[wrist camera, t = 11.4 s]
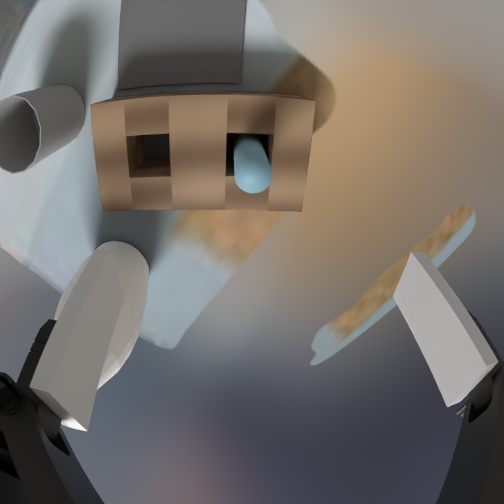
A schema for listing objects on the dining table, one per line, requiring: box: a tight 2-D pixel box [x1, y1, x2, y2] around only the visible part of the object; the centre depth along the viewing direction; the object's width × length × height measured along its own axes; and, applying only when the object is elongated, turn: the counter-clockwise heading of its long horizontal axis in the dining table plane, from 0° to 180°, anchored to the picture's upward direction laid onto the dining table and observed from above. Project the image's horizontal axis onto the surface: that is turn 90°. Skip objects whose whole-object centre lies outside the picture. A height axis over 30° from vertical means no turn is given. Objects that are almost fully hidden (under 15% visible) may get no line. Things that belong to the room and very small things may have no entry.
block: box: [90, 91, 316, 212], centre depth 30 cm, size 12×22×6 cm, turn 87°
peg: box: [234, 133, 273, 193], centre depth 28 cm, size 3×3×12 cm
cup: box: [0, 84, 85, 174], centre depth 24 cm, size 8×8×10 cm
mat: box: [118, 0, 246, 89], centre depth 24 cm, size 14×14×1 cm
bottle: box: [54, 241, 149, 430], centre depth 31 cm, size 11×11×25 cm
